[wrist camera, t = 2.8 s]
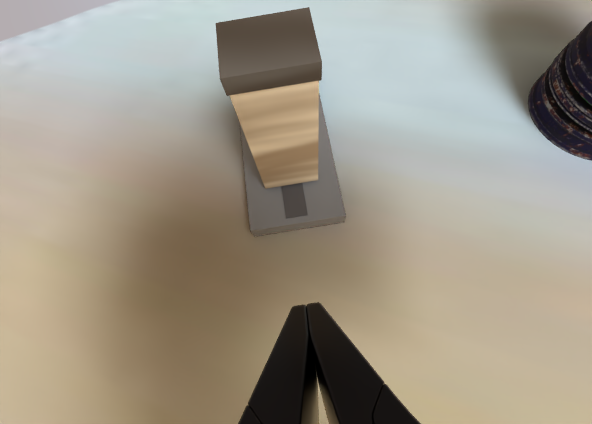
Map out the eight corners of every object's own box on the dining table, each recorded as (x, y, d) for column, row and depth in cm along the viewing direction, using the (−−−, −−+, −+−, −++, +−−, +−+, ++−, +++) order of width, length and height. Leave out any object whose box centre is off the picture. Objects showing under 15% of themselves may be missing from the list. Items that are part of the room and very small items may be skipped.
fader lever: (319, 181, 23) (321, 61, 12) (264, 190, 23) (219, 78, 12) (312, 144, 24) (309, 7, 13) (259, 153, 24) (215, 23, 13)
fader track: (344, 222, 23) (346, 213, 21) (254, 236, 23) (248, 228, 21) (311, 68, 29) (310, 51, 27) (238, 80, 29) (232, 63, 27)
